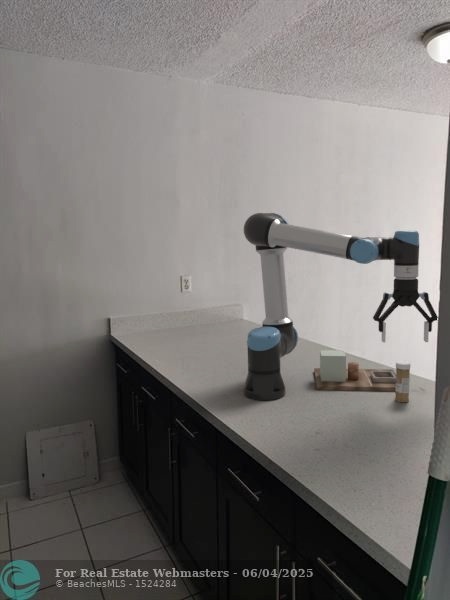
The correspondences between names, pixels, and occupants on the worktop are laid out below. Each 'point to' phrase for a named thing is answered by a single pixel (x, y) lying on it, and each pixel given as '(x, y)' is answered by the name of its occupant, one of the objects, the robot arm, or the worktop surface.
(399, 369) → the sprinkles bottle
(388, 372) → the socket
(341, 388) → the board
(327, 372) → the cover
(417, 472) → the worktop surface
